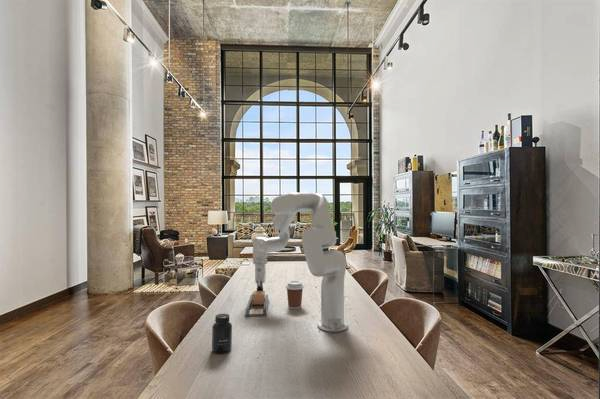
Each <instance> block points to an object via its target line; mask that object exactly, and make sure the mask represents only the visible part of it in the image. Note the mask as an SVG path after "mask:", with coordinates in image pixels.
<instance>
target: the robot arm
mask: <svg viewBox="0 0 600 399" xmlns="http://www.w3.org/2000/svg"><path fill="white" fill-rule="evenodd" d="M270 211H271V213H272V214H273V215H274V218H273V219H272V225H273V226H274V227H275V228H276V229H277V230H278V231H279V233H278V234H277V236H272V237H271V236H270V237H265V236H256V237H255V236H254V237H253V239H252V264H253V265H254V281H255V284H256V291H264V286H263V285H264V284H265V283H266V280H267V278H266V273H267V271H266V265H267V264H268V254H269V253H276V252H281V251H283V250H284V249H285V247H286V246H287V244H288V243H289V240H290V236H291V234H290V229H289V228H290V226H291V224H292V222H294V218H295V216H296V215H297V213H306V212H308V213H309V212H311V216H310V219H311V224H312V226H309V227H307V228H306V229H304V231H303V232H302V236H301V244H302V245H301V246H302V248H303V252H304V253H303V254H304V257H305V261H306V265H307V268H308V270H309V272H310V274H311V275H312V276H314V277H317V278H321V277H322V279H321V285H320V286H321V288H320V289H321V290H320V291H321V296H320V300H321V301H320V304H321V306H320V308H321V310H320V318H321V319H320V320H318V322H317V323H316V324H317V327H318V329H320V330H322V331H325V332H329V333H330V332H333V333H336V332H338V333H339V332H343V331H346V330H347V329H348V327H349V326H348V322H347V321H345V279H346V278H345V277H346V270H347V265H348V263H347V258H346V256H345V254H344V253H343V252H342V251H340V250H337V249H334V250H333V249H331V250H325V251H324V250H323V249H328V248H331V247H334V246H335V245H336V244H337V234H336V231H335V226H334V223H333V219H332V216H331V213H330V207H329V203H328V200H327V198H326V197H325V196H324V195H323V194H321V193H317V192H289V193H287V194H283V195H278V196H276V197H274V198H273V200H272V201H271V203H270Z"/></svg>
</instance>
